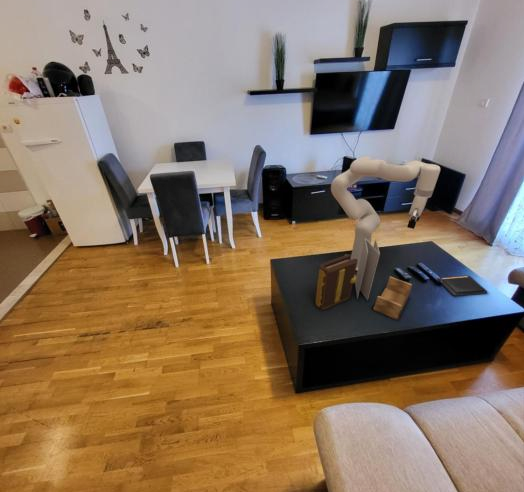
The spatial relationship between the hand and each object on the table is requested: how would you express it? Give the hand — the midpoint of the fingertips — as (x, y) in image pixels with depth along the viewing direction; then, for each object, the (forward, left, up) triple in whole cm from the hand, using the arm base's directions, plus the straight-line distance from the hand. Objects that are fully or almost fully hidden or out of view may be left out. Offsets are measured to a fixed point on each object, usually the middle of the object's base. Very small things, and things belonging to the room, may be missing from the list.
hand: (412, 224), depth 140 cm
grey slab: (-12, -21, -37) cm, 44 cm away
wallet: (+31, +16, -37) cm, 51 cm away
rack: (+4, -21, -37) cm, 42 cm away
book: (-21, -36, -37) cm, 55 cm away
